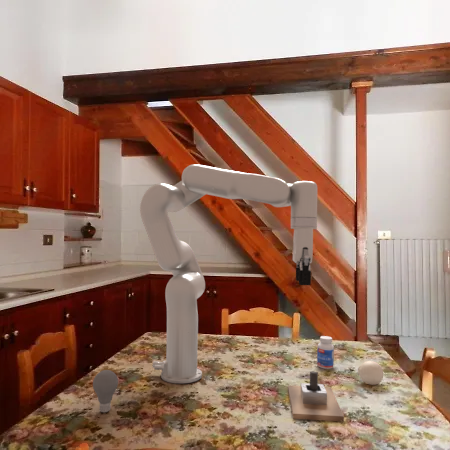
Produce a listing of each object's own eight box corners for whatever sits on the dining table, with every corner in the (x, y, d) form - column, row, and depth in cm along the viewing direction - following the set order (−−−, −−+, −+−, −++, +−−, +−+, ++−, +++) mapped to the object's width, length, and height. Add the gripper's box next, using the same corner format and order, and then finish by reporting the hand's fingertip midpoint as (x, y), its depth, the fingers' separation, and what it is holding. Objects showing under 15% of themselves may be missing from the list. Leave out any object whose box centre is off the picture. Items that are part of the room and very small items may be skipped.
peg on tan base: (293, 418, 97) (293, 384, 97) (287, 389, 115) (288, 360, 115) (343, 421, 96) (344, 386, 96) (330, 391, 114) (331, 362, 114)
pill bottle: (315, 367, 134) (316, 338, 135) (318, 363, 139) (318, 334, 140) (332, 370, 132) (333, 340, 133) (334, 365, 137) (335, 336, 138)
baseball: (361, 377, 126) (361, 356, 126) (385, 383, 122) (386, 360, 122) (354, 384, 120) (354, 361, 120) (379, 390, 116) (380, 366, 116)
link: (302, 403, 103) (303, 391, 103) (300, 394, 109) (300, 383, 109) (326, 405, 102) (327, 393, 103) (323, 395, 108) (323, 384, 109)
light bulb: (103, 419, 95) (104, 376, 95) (86, 412, 98) (87, 371, 98) (122, 410, 100) (123, 369, 100) (105, 404, 103) (106, 365, 104)
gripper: (288, 224, 127) (287, 279, 126) (293, 223, 109) (292, 286, 109) (312, 224, 126) (312, 279, 126) (321, 223, 109) (320, 287, 108)
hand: (302, 282), depth 117 cm, fingers open, 9 cm apart
